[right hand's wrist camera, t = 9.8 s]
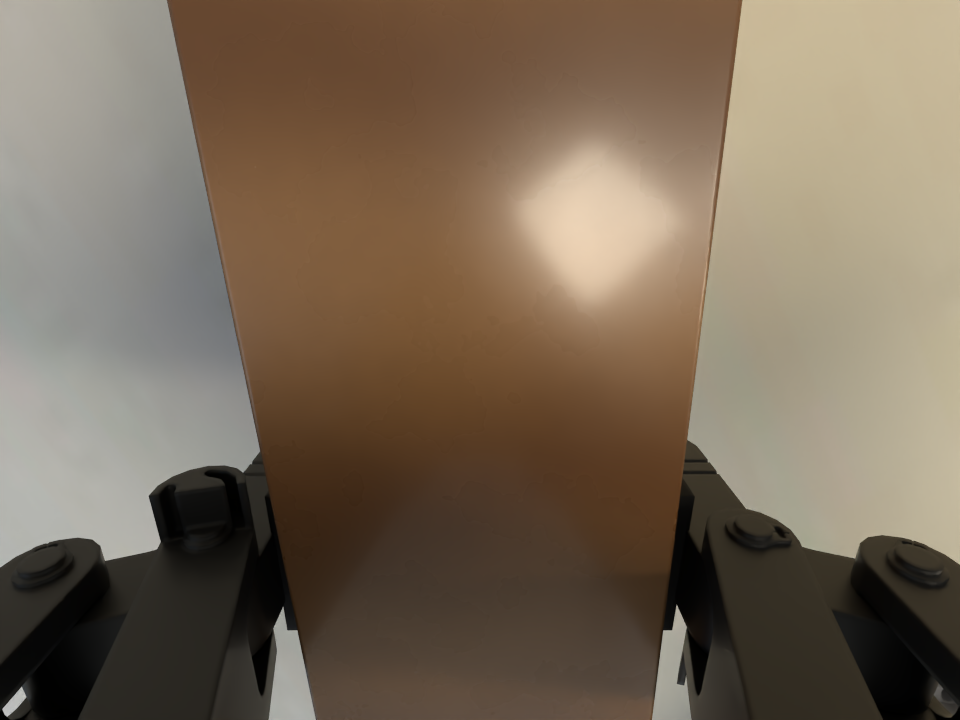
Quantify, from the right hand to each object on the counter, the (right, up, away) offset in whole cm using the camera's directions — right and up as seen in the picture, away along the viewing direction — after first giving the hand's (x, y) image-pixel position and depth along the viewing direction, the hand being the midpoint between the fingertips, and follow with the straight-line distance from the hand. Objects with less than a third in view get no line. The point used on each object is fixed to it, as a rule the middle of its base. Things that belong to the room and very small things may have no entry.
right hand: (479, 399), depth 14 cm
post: (-1, +22, -8) cm, 23 cm away
